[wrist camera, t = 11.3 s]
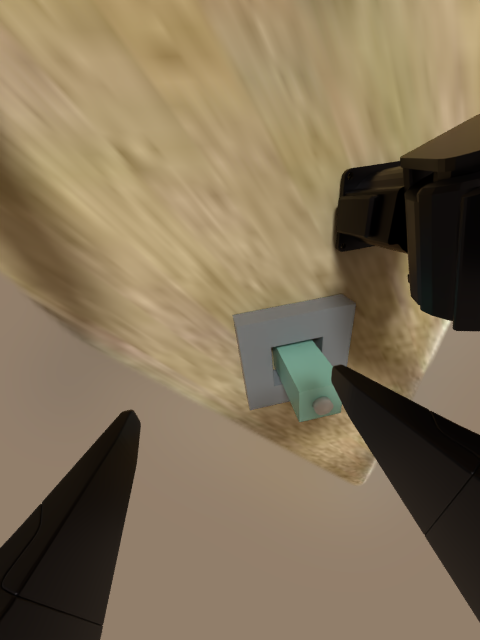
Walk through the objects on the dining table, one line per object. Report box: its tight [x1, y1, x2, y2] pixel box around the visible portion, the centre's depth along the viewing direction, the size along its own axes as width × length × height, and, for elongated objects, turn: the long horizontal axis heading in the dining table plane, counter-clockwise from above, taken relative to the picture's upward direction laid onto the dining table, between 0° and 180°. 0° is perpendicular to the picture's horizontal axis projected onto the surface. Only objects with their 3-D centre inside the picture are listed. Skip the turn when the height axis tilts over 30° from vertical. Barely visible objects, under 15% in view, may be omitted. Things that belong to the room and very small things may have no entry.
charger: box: [273, 339, 342, 422], centre depth 22 cm, size 4×4×9 cm
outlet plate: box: [233, 294, 356, 410], centre depth 25 cm, size 12×12×2 cm
